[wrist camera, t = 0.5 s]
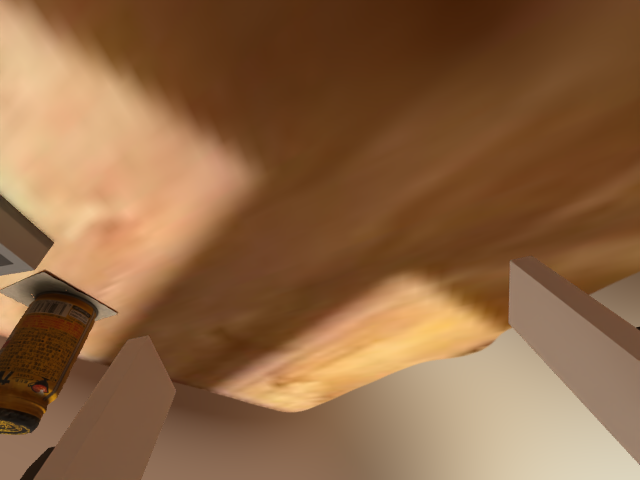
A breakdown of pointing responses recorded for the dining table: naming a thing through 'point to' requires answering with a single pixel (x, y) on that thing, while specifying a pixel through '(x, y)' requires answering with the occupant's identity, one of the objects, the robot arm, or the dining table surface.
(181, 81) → the dining table surface
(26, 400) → the condiment
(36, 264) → the tray
